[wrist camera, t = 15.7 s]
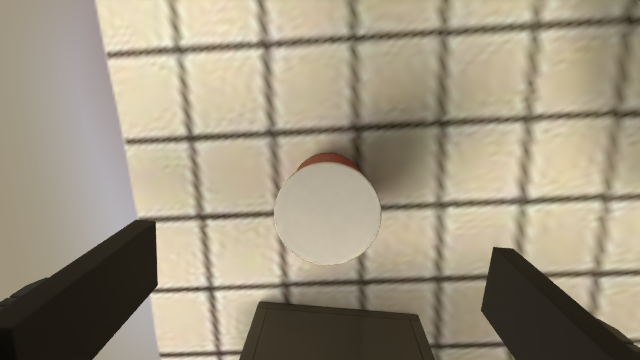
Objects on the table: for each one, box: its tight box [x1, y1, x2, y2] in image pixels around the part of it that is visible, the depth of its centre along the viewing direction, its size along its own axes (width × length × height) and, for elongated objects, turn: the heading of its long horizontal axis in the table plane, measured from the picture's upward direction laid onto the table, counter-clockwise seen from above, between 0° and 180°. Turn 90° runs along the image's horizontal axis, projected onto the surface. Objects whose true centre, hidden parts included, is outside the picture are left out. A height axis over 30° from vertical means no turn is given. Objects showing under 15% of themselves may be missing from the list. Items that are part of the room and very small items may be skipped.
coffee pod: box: [274, 153, 381, 265], centre depth 23 cm, size 6×6×6 cm
